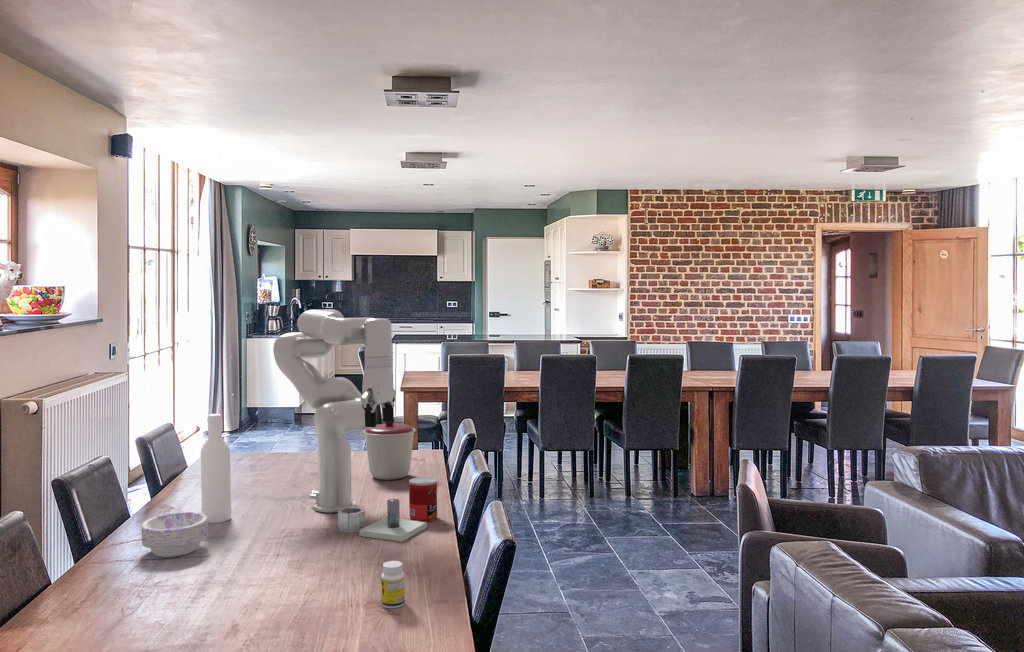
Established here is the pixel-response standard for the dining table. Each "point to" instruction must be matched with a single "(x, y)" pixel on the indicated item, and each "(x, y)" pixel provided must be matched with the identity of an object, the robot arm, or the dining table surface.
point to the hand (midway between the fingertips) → (379, 424)
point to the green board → (393, 530)
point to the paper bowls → (174, 533)
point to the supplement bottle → (393, 585)
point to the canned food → (423, 499)
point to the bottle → (215, 473)
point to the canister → (389, 450)
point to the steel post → (393, 513)
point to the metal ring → (351, 519)
